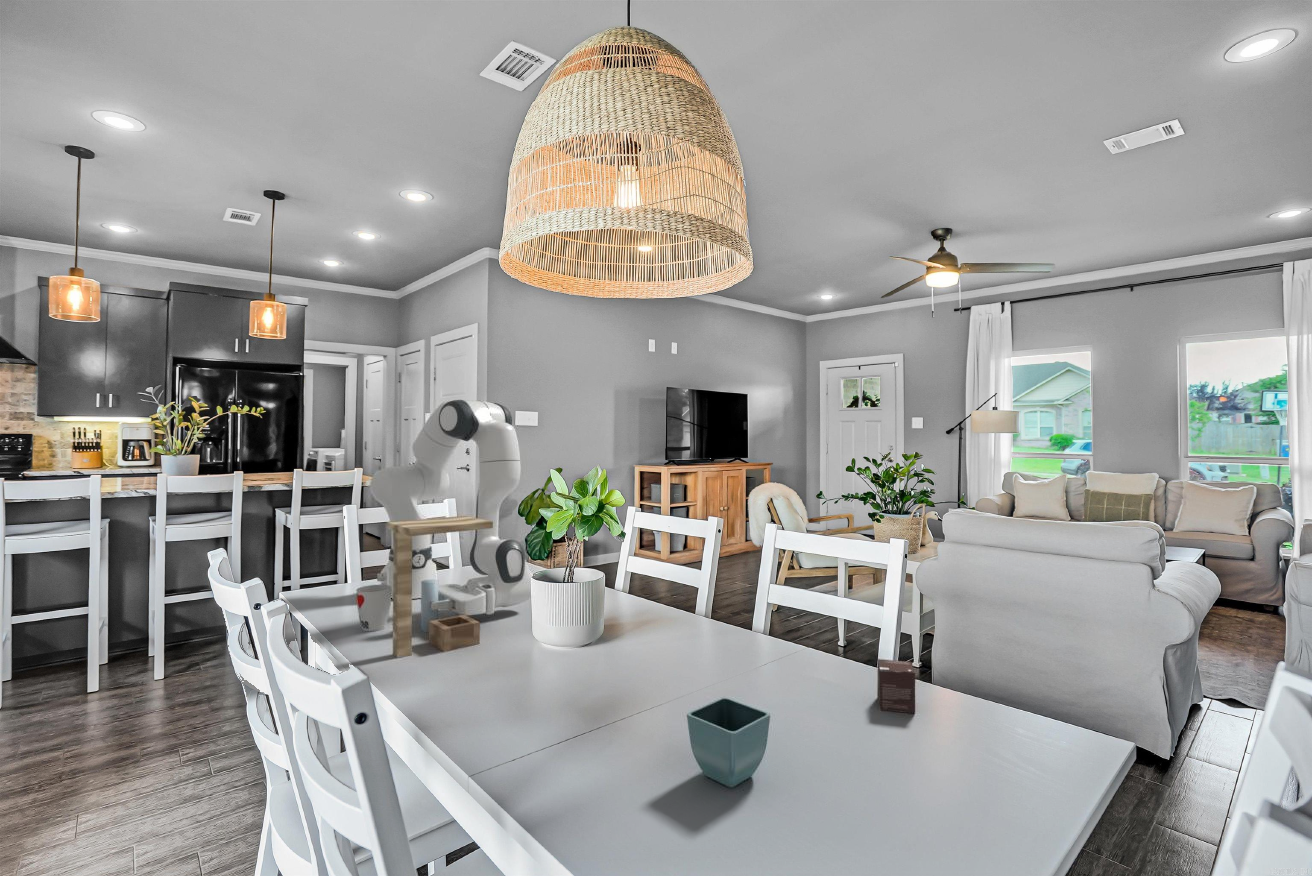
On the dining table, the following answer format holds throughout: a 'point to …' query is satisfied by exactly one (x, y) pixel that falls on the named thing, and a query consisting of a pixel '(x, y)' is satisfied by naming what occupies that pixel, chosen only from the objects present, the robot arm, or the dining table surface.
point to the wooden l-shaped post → (404, 568)
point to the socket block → (454, 632)
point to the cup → (373, 606)
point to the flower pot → (728, 739)
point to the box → (896, 686)
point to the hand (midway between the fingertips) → (426, 603)
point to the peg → (428, 603)
